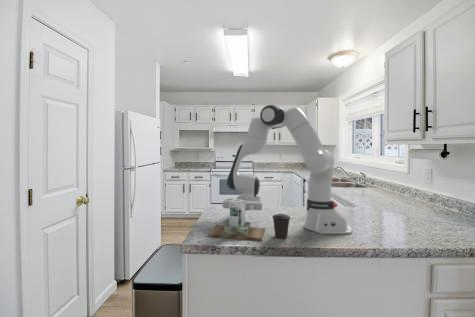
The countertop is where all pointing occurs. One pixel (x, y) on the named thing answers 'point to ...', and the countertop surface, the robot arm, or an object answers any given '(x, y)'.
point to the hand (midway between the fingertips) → (239, 208)
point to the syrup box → (237, 213)
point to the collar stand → (237, 232)
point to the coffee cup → (281, 225)
